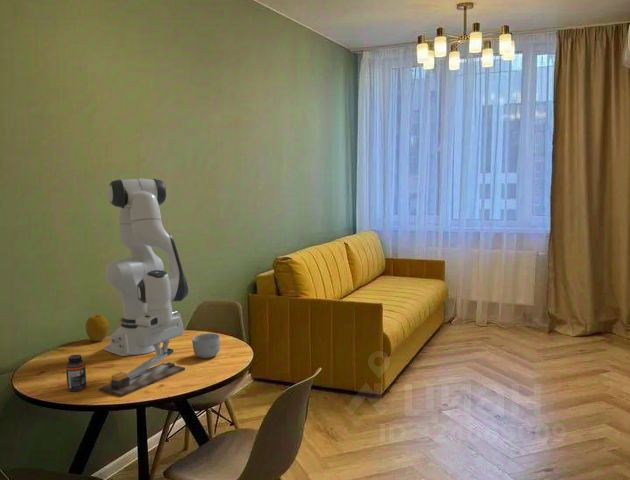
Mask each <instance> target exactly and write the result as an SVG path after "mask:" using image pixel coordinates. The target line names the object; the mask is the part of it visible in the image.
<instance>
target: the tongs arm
mask: <svg viewBox="0 0 630 480" xmlns="http://www.w3.org/2000/svg"><path fill="white" fill-rule="evenodd" d="M173 353H174V349H173V348H168V347H167V352H166V353H163V354H161V355H157V354H155V355H154V356H153V357H150V358H149V359H148V360H146V361H144V362H143V363H141V364H140V365H138V366H137V367H136V368H134V369H132V370H131V371H129V372H126V373H127V377H129V380H131V379H133V378H134V377H136V376H137V375H139V374H141V373H142V372H144V371H145V370H147V369H149V368H152V367H154V365H156V364H157V363H159V362H161V361H162V360H164V359H165V358H167V357H168V356H170V355H172V354H173Z"/></svg>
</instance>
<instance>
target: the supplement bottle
mask: <svg viewBox="0 0 630 480" xmlns="http://www.w3.org/2000/svg"><path fill="white" fill-rule="evenodd" d="M82 359H83V357H82V354H72V355H69V356H68V362H67V363H66V364H65V372H66V384H67V385H66V386H67V390H68V391H70V392H80V391H82V389H83V390H85V389H86V388H87V373H86V372H87V371H86V363H85V361H84V360H82ZM79 390H80V391H79Z"/></svg>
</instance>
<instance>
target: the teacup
mask: <svg viewBox="0 0 630 480" xmlns="http://www.w3.org/2000/svg"><path fill="white" fill-rule="evenodd" d="M220 340H221V339H220V334H217V333H212V332H207V333H202V334H198V335H195V336H193V337H192V338H191V342H192V349H193V353H194V354H195V356H197V357H198V358H199V359H211V358H213V357H215V356H216V355H217V354H218V353H219V352H220V349H221V341H220Z"/></svg>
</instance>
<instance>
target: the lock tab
mask: <svg viewBox="0 0 630 480" xmlns="http://www.w3.org/2000/svg"><path fill="white" fill-rule="evenodd" d="M127 373H128V372H123V371H120V372H118V373H115V374H112V375H111V380H115V381H119V380H122V379H124V378H127Z"/></svg>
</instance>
